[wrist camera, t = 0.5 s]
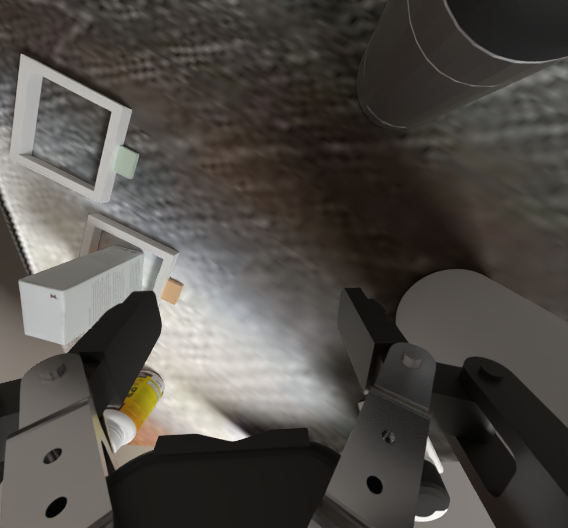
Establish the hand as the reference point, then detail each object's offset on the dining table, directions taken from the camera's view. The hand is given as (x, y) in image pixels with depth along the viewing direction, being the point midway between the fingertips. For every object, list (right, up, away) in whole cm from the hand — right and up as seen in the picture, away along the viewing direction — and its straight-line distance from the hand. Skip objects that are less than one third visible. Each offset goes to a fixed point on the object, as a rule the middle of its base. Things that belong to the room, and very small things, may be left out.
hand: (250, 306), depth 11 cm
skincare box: (-19, +1, +24) cm, 30 cm away
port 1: (-22, +16, +19) cm, 33 cm away
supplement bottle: (-20, -17, +30) cm, 39 cm away
